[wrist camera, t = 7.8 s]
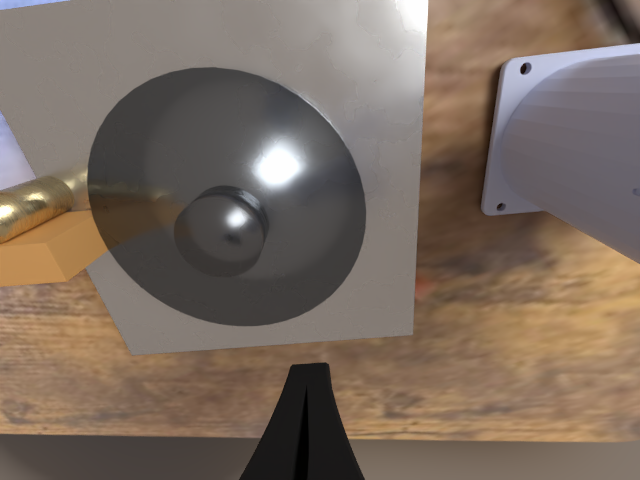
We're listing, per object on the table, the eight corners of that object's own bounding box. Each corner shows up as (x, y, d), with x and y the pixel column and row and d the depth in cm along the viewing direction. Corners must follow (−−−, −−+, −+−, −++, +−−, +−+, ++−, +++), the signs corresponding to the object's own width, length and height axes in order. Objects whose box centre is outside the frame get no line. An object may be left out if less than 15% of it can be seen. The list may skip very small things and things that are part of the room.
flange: (358, 52, 13) (372, 39, 10) (366, 305, 20) (376, 356, 16) (-30, 94, 14) (-153, 98, 10) (97, 324, 20) (48, 376, 17)
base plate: (419, -36, 13) (477, -108, 8) (407, 319, 22) (431, 386, 17) (-25, 24, 14) (-208, -7, 9) (136, 340, 23) (87, 408, 18)
